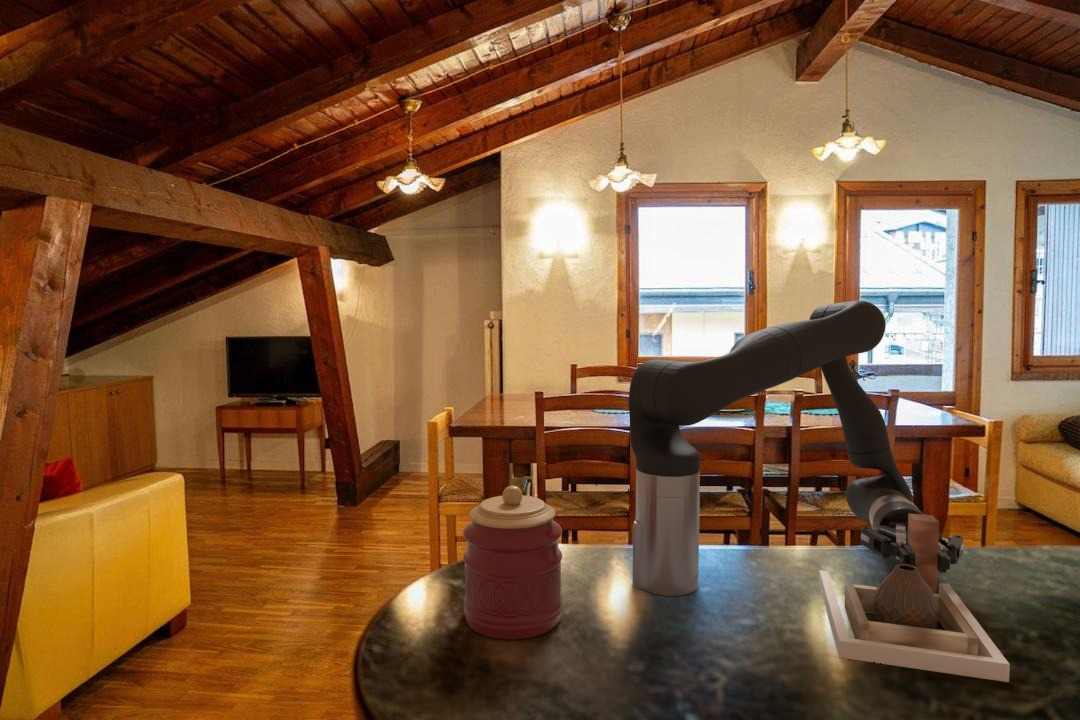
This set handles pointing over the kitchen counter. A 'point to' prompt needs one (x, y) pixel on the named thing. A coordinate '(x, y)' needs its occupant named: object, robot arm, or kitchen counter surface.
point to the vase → (905, 599)
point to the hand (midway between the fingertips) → (928, 563)
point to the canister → (512, 567)
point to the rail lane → (981, 666)
